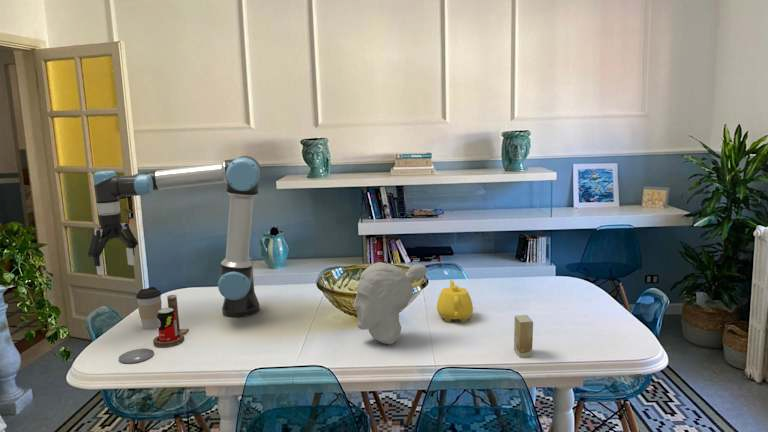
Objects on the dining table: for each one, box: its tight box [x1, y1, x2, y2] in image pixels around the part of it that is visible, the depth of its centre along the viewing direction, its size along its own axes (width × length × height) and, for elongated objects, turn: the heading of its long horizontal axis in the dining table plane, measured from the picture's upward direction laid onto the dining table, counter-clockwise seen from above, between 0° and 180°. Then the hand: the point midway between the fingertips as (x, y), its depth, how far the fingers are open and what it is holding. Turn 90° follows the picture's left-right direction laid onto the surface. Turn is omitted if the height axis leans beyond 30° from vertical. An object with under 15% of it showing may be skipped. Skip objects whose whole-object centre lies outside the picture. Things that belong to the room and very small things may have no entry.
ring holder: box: [152, 294, 190, 349], centre depth 204 cm, size 10×16×15 cm, turn 3°
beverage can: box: [157, 307, 179, 342], centre depth 201 cm, size 6×6×12 cm
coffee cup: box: [135, 286, 162, 331], centre depth 217 cm, size 9×9×15 cm
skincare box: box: [513, 314, 534, 358], centre depth 182 cm, size 6×4×12 cm
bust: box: [352, 261, 427, 345], centre depth 196 cm, size 15×26×28 cm, turn 99°
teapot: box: [436, 279, 474, 323], centre depth 218 cm, size 14×20×13 cm
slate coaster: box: [118, 348, 155, 365], centre depth 190 cm, size 11×11×1 cm
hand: (116, 269), depth 209 cm, fingers open, 13 cm apart
